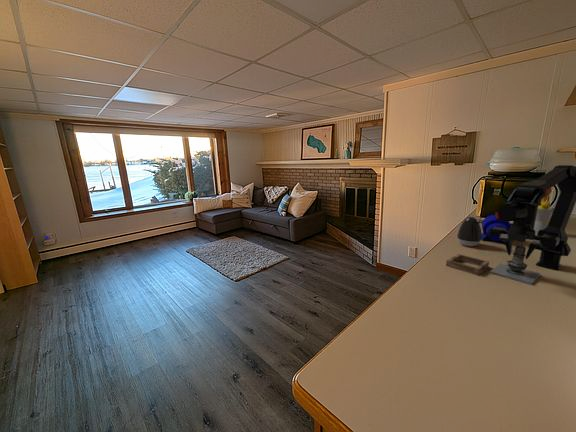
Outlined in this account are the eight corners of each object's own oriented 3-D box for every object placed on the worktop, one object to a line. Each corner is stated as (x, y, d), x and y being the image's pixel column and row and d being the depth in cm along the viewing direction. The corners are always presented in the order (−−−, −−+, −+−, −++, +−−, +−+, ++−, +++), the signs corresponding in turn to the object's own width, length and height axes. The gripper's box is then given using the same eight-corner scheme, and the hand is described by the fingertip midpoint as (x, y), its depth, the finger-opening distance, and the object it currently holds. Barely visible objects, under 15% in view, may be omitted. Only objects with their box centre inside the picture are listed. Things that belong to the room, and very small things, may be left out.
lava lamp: (523, 230, 143) (533, 171, 135) (541, 231, 141) (552, 171, 133) (534, 235, 134) (547, 172, 126) (554, 235, 132) (567, 172, 124)
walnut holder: (457, 258, 110) (458, 253, 109) (488, 267, 101) (489, 261, 100) (446, 265, 104) (446, 260, 103) (477, 275, 95) (478, 269, 94)
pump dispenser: (474, 249, 119) (478, 220, 116) (452, 244, 128) (455, 216, 125) (484, 245, 124) (489, 217, 120) (462, 240, 133) (466, 213, 129)
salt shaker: (529, 276, 90) (536, 246, 88) (511, 274, 92) (518, 245, 89) (518, 269, 96) (524, 241, 93) (501, 268, 97) (507, 240, 94)
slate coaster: (500, 264, 102) (500, 263, 102) (540, 275, 92) (540, 273, 92) (490, 273, 96) (490, 271, 96) (531, 284, 86) (531, 282, 86)
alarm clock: (507, 238, 132) (511, 212, 129) (512, 245, 122) (517, 217, 119) (479, 235, 139) (483, 210, 135) (482, 242, 129) (486, 215, 125)
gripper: (485, 217, 92) (480, 255, 96) (556, 227, 77) (547, 271, 81) (496, 213, 98) (490, 248, 102) (563, 221, 83) (554, 262, 86)
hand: (517, 256), depth 92 cm, fingers open, 5 cm apart
